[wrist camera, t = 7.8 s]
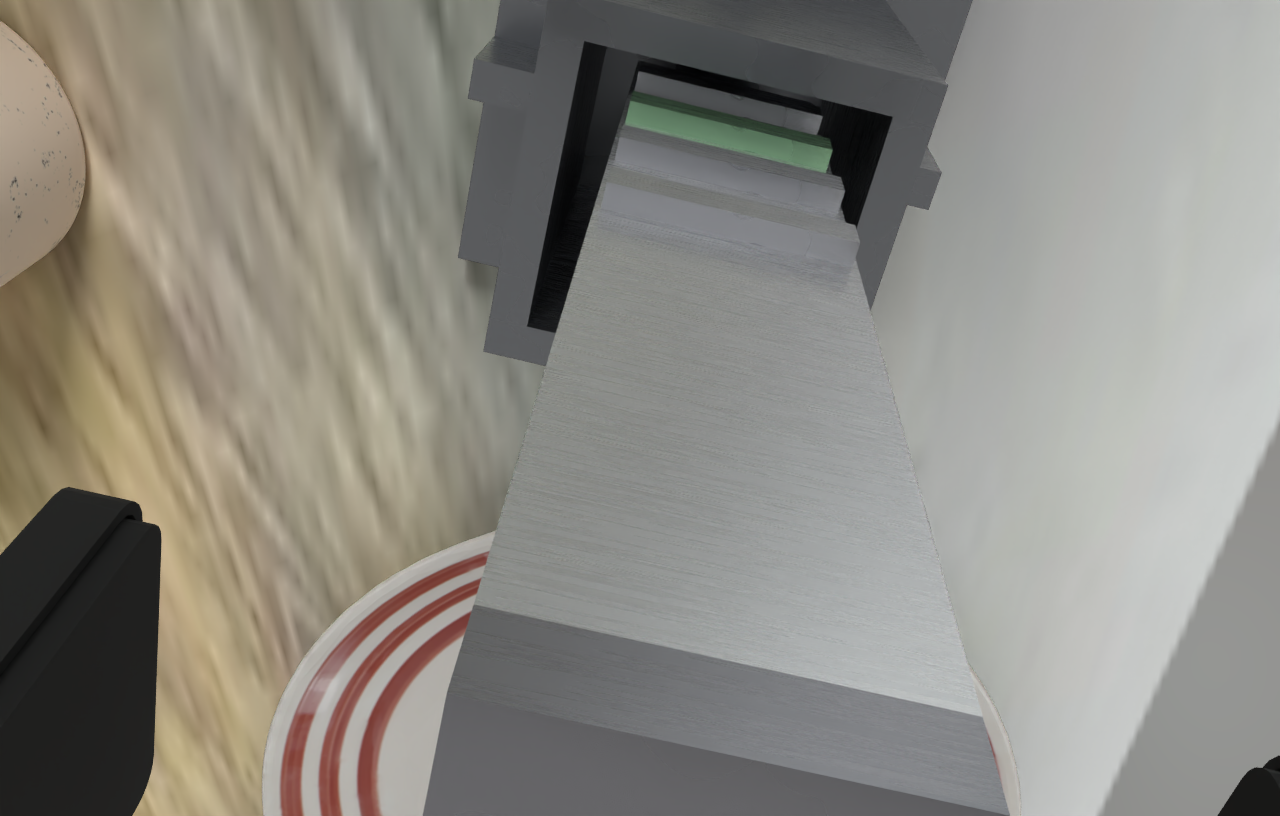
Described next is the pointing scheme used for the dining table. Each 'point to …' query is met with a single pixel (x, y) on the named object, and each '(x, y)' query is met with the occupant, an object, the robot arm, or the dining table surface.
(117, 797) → the robot arm
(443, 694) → the dinner plate
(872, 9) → the stand base
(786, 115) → the column
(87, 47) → the dining table surface
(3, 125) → the teacup with lid
